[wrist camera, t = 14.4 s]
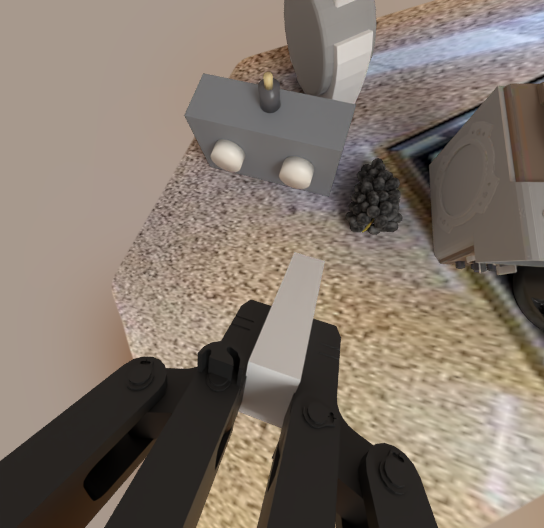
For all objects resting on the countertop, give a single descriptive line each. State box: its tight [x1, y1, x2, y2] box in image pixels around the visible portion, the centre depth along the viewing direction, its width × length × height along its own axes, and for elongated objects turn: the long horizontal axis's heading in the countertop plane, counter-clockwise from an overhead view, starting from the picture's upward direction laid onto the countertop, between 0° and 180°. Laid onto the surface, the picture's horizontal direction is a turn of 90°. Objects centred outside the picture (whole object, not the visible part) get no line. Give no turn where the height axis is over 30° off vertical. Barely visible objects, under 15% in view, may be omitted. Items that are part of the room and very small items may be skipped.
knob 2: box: [279, 156, 314, 189], centre depth 43 cm, size 5×7×5 cm
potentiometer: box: [258, 72, 281, 113], centre depth 36 cm, size 3×3×5 cm
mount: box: [185, 74, 356, 197], centre depth 45 cm, size 24×8×13 cm, turn 72°
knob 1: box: [211, 139, 245, 172], centre depth 44 cm, size 5×7×5 cm
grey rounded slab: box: [284, 0, 376, 104], centre depth 44 cm, size 18×8×20 cm, turn 24°
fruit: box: [346, 158, 402, 235], centre depth 44 cm, size 9×8×15 cm
